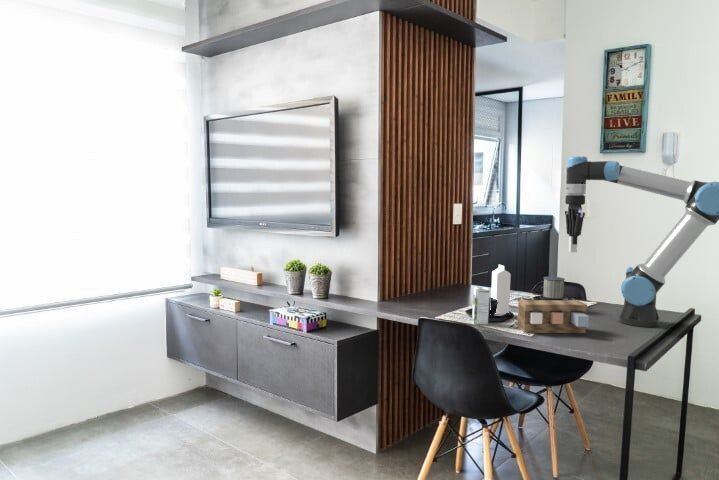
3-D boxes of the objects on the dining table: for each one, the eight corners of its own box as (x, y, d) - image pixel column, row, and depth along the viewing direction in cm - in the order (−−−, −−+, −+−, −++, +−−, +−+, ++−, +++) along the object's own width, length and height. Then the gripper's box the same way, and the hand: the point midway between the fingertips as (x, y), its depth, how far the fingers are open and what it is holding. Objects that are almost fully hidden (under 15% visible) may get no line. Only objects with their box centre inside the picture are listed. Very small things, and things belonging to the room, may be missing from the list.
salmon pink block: (553, 318, 219) (553, 308, 218) (562, 324, 210) (563, 313, 209) (543, 318, 219) (543, 308, 218) (552, 323, 210) (552, 313, 209)
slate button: (577, 320, 215) (578, 310, 215) (588, 326, 206) (588, 316, 206) (567, 320, 215) (568, 310, 215) (577, 326, 206) (578, 316, 206)
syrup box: (471, 321, 229) (472, 286, 227) (486, 321, 228) (487, 286, 227) (474, 324, 223) (475, 289, 222) (488, 324, 223) (490, 289, 221)
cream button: (533, 318, 218) (533, 308, 218) (542, 323, 209) (542, 313, 209) (523, 318, 218) (523, 308, 218) (531, 323, 209) (532, 313, 209)
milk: (503, 313, 243) (505, 264, 241) (508, 317, 237) (511, 266, 235) (489, 314, 242) (492, 264, 240) (495, 317, 236) (497, 266, 234)
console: (576, 327, 221) (577, 300, 220) (585, 332, 213) (587, 304, 212) (517, 327, 219) (518, 300, 218) (524, 332, 212) (525, 304, 210)
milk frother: (567, 312, 248) (569, 279, 247) (535, 313, 245) (537, 280, 243) (549, 305, 262) (551, 274, 261) (519, 306, 258) (520, 275, 257)
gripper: (559, 194, 232) (557, 250, 235) (574, 194, 219) (571, 254, 222) (576, 194, 233) (574, 250, 235) (592, 195, 220) (589, 254, 222)
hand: (572, 252), depth 229 cm, fingers closed
